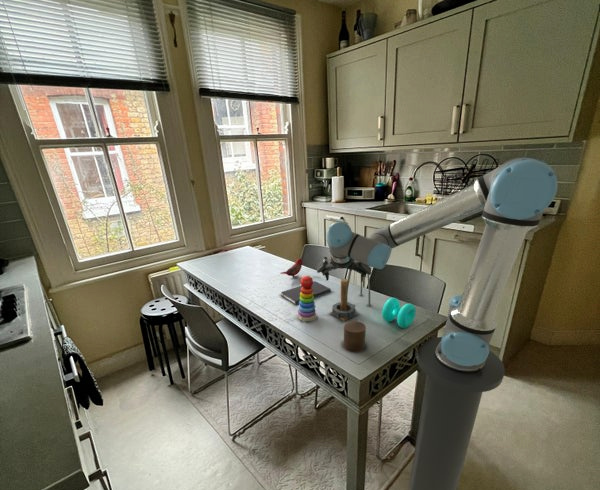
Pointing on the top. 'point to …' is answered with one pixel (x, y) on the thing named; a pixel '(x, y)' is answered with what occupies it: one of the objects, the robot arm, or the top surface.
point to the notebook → (295, 292)
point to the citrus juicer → (361, 285)
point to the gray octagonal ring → (343, 314)
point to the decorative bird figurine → (294, 268)
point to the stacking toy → (306, 300)
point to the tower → (344, 297)
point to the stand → (354, 336)
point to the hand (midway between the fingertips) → (344, 278)
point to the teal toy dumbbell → (398, 312)
